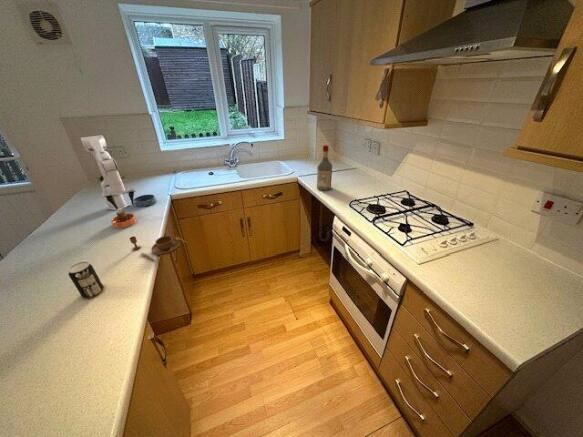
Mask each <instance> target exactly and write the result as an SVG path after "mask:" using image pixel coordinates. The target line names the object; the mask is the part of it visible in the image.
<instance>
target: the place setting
mask: <svg viewBox="0 0 583 437" xmlns="http://www.w3.org/2000/svg"><path fill="white" fill-rule="evenodd" d="M137 240H138V239H137V237H136V236H134V235H133V236H130V237H129V241H130V243H131V244H132V245H133V246H134V247H133V249H132V250H133V251H138V250H140V249H141V246H139V245H138V244H137V242H138V241H137ZM181 241H182V242H183V243H185V244H188V242H187V241H185V240H184V239H182V238H181V237H180V236H175V238H173V237H172V236H171V235H164V236H161V237H158V238H157V239H156V240H155V243H154V244H153V245H152V246H151V248H150V251H151V252H152V254H154V255H155V256H165V255H166V256H167V255H169V254H172V253H174V252H175V251H177V250H178V249H179V247H180V245H181V243H180V242H181ZM140 256H142V257H144V258H145V257H146V258H147V259H149V260H150V261H152V262H155V259H153V258H151V257H150V256H148V255H147V254H146V253H144V252H141V253H140Z"/></svg>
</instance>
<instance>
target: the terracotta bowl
mask: <svg viewBox="0 0 583 437" xmlns="http://www.w3.org/2000/svg"><path fill="white" fill-rule="evenodd" d="M126 216H127V218H128V220H127V221H125V222H120V221H119V219H118V217H117V215H116V216H115V217H112V219H111V220H110V223H111V226H112V227H113V229H116V230H121V229H126V228H129V227H132V226H134V225H135V224H136V223H137V222H138V221H137V218H136V215H135V214H134V213H130V212H129V213H126Z"/></svg>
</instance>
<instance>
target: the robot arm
mask: <svg viewBox="0 0 583 437" xmlns="http://www.w3.org/2000/svg"><path fill="white" fill-rule="evenodd" d="M80 141H81V143H82V145H83V147H84V149H85V151H86V152H87V153H91V154H92V155H93V157H94V159H95V161H96V164H97V166H98V168H99V171H100V173H101V176H102V177H103V180H102V182H100V187H101V190H102V192H103V193H102V195H101V196H102V198H103V199H104V200H105V202H106V205H107V210H114V211H117V210H118V211H121V210H123V209H125V208H126V207H129V206H131V205H132V207H133V206H135V204H134V201H133V200H134V197H135V193H137V190H136V187H129V188H125V186H124V183H123V180H122V177H121V175H120V172H119V166H118V164H117V162H116V160H115V159H114V158H113V157H111V154H110V153H109V152H108V151H106V150H107V146H108V144H107V141H106V139H105V137H104V136H103V135H102V134H100V135H93V136H92V135H91V136H84V137H83V136H82V137H81V138H80ZM127 194H128V197H129V199H130V202H131V204H130V203H127V202H126V200H125V197H124V195H127Z"/></svg>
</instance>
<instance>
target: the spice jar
mask: <svg viewBox="0 0 583 437" xmlns="http://www.w3.org/2000/svg"><path fill="white" fill-rule="evenodd" d="M115 214H116V216H117V217H118V219H119V221H120V222H125V221H127V220H128V218H127V216H126V214H127V213H126V211H125V210H123V209H121V210H118V211H116V213H115Z"/></svg>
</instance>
